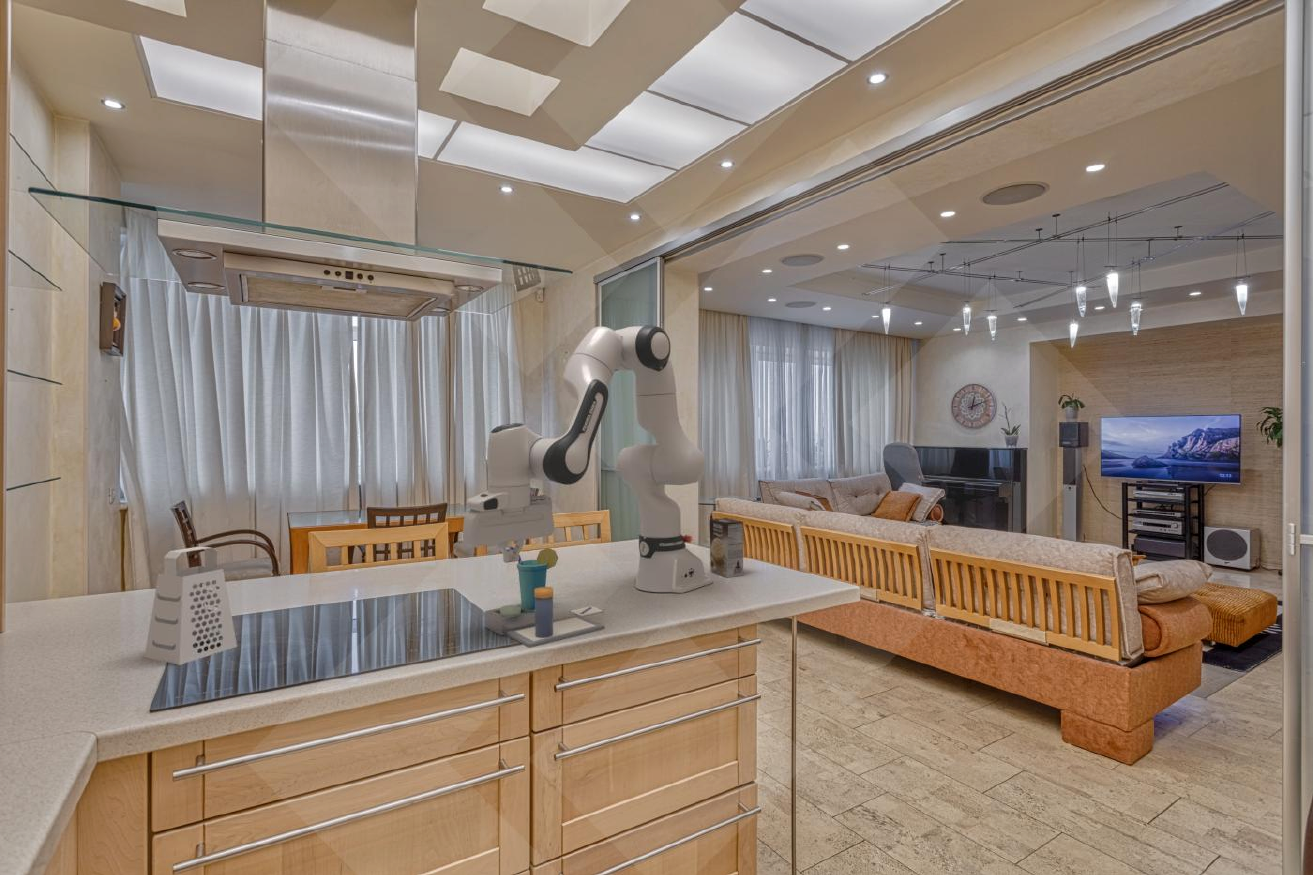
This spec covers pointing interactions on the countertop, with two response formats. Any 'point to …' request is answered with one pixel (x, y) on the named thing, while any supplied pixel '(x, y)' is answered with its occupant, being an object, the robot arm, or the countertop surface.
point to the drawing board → (556, 631)
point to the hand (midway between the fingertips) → (511, 561)
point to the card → (586, 611)
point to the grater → (189, 611)
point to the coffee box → (726, 547)
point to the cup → (534, 574)
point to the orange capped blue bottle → (543, 612)
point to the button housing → (509, 620)
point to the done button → (510, 610)
